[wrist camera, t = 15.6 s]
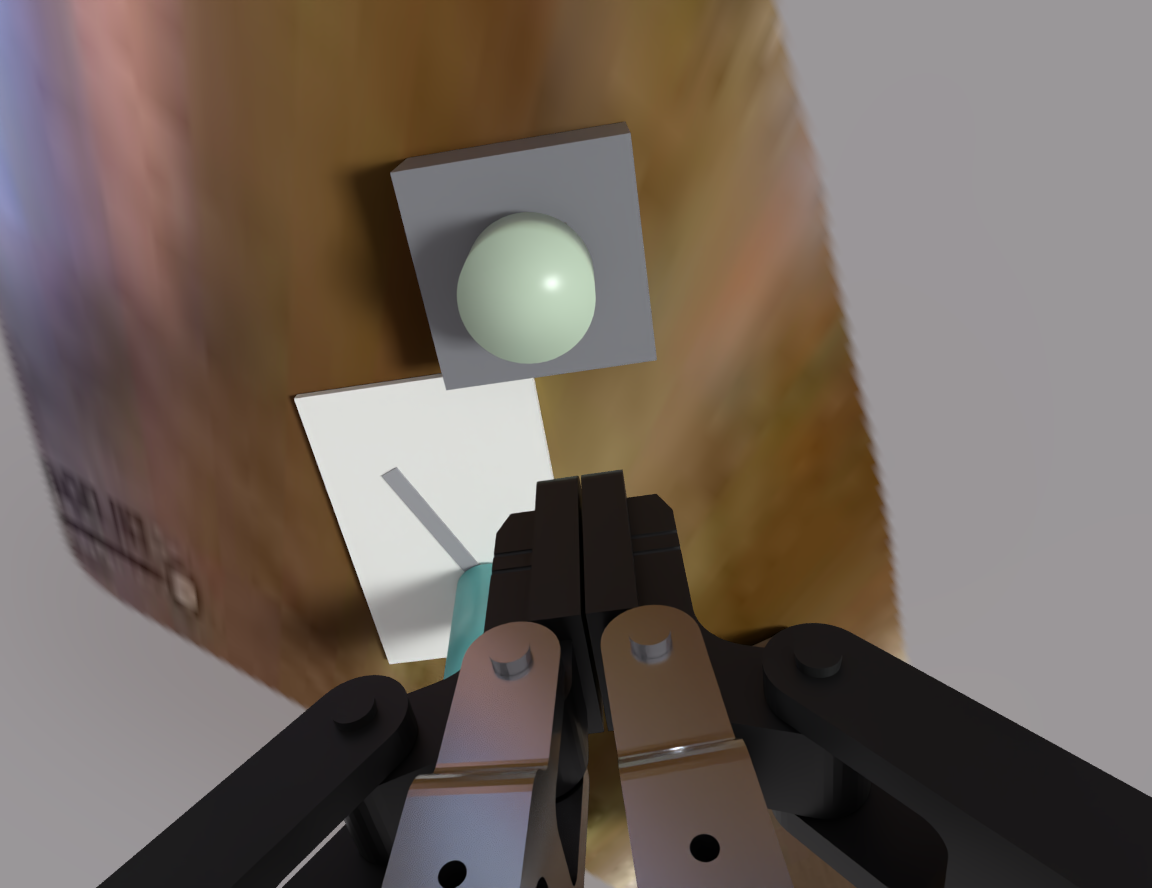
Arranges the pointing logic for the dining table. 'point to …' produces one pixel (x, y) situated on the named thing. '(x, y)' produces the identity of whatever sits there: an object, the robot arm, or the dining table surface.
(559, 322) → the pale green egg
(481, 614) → the marker
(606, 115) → the dining table surface
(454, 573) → the pad
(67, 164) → the dining table surface
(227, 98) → the dining table surface
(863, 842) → the robot arm
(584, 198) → the button housing
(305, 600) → the dining table surface
